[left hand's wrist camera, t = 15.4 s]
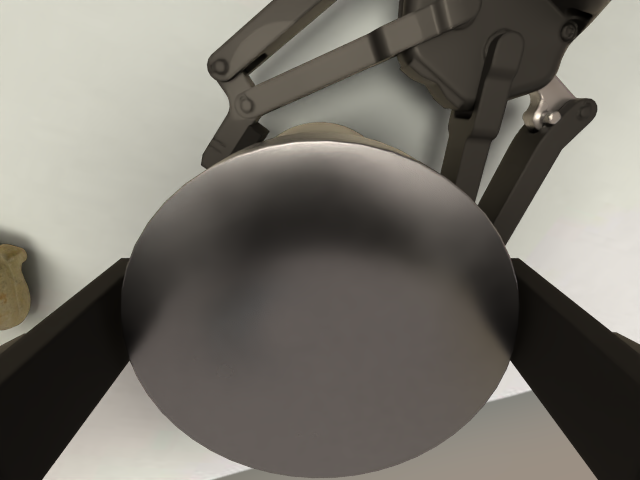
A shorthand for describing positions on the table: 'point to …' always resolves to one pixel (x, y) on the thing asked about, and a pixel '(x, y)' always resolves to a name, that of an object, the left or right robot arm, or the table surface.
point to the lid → (319, 307)
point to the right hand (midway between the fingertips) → (277, 279)
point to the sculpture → (12, 287)
